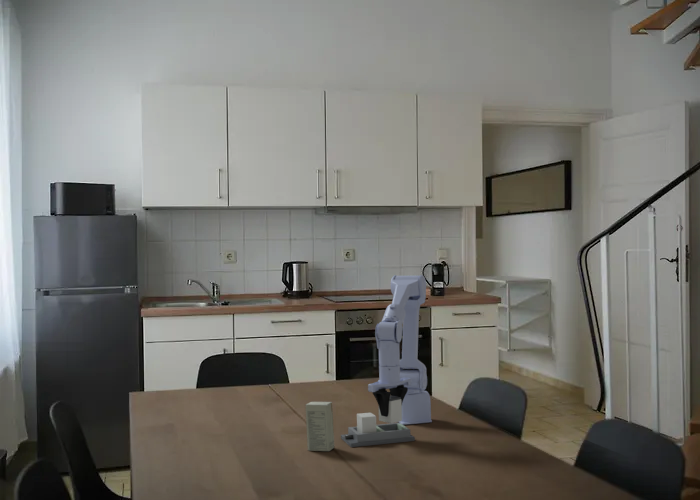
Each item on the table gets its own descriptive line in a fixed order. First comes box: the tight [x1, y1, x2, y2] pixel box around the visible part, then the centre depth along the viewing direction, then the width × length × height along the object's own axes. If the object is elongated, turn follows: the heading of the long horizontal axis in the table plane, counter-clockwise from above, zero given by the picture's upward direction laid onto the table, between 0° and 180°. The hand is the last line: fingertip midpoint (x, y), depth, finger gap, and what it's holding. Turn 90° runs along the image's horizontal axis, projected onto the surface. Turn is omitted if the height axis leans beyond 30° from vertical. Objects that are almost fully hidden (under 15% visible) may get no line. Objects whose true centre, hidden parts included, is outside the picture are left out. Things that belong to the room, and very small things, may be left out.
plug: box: [377, 395, 402, 424], centre depth 208 cm, size 4×5×6 cm
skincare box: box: [304, 401, 335, 452], centre depth 199 cm, size 6×4×12 cm
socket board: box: [340, 412, 416, 448], centre depth 207 cm, size 18×10×7 cm, turn 106°
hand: (390, 414), depth 208 cm, fingers closed on plug, 4 cm apart
